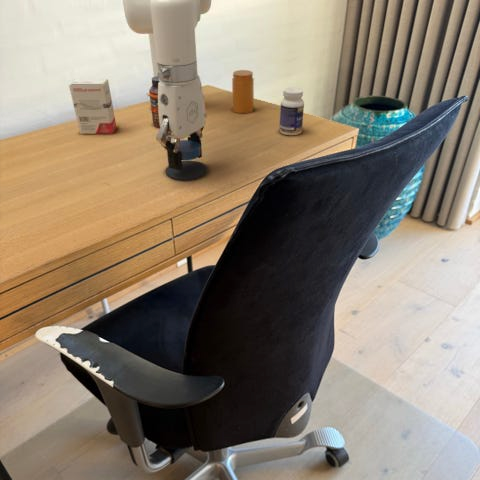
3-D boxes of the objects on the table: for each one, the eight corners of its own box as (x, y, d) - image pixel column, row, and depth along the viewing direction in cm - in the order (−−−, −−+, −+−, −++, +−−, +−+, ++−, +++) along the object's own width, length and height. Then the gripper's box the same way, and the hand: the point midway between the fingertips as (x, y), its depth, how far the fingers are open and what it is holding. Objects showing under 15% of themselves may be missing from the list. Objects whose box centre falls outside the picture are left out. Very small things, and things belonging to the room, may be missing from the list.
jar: (228, 111, 132) (227, 73, 125) (239, 105, 136) (239, 68, 129) (246, 114, 130) (246, 77, 123) (257, 108, 133) (257, 71, 127)
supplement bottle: (148, 125, 124) (142, 79, 116) (162, 118, 128) (157, 73, 120) (166, 130, 122) (161, 82, 114) (180, 122, 125) (176, 76, 118)
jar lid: (205, 156, 100) (205, 148, 99) (177, 162, 98) (176, 154, 96) (193, 146, 104) (192, 138, 103) (165, 151, 102) (164, 143, 101)
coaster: (157, 174, 102) (157, 172, 102) (182, 159, 108) (182, 157, 108) (191, 184, 99) (190, 182, 98) (215, 168, 104) (215, 166, 104)
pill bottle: (300, 136, 117) (303, 94, 111) (277, 135, 118) (279, 92, 112) (302, 128, 122) (306, 86, 115) (280, 127, 123) (282, 85, 116)
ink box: (117, 126, 124) (108, 77, 116) (113, 134, 120) (103, 83, 112) (84, 127, 124) (73, 78, 116) (79, 134, 120) (67, 84, 112)
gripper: (164, 86, 83) (175, 182, 95) (219, 63, 94) (222, 151, 106) (132, 80, 86) (146, 173, 98) (188, 58, 97) (195, 145, 109)
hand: (185, 161), depth 102 cm, fingers closed on jar lid, 6 cm apart
